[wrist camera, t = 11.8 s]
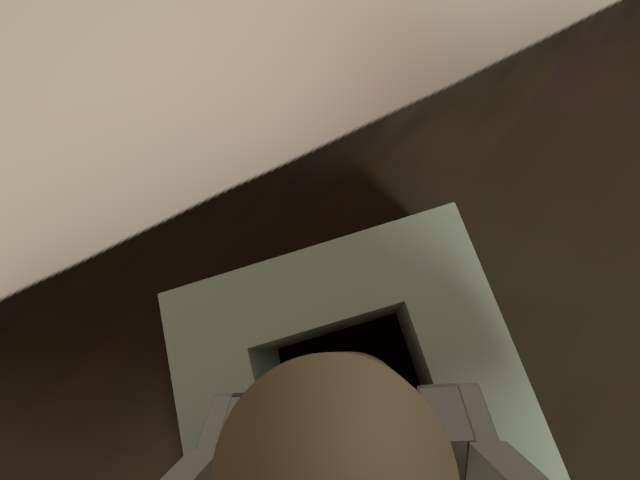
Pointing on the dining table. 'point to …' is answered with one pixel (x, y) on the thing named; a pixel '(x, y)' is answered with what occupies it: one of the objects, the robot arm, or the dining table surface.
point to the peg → (333, 425)
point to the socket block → (357, 322)
